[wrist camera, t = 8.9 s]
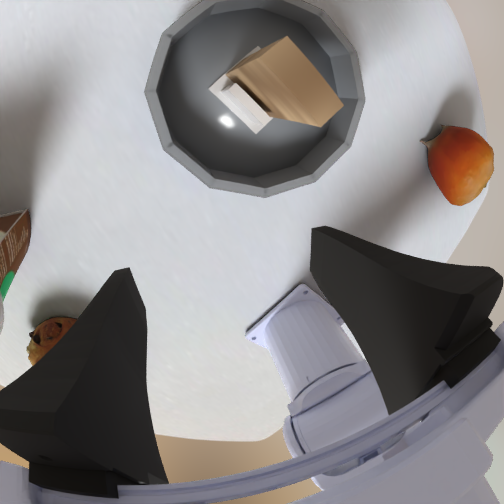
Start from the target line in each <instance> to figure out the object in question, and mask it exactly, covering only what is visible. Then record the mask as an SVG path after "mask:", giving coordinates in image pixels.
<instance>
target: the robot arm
mask: <svg viewBox="0 0 504 504" xmlns="http://www.w3.org/2000/svg"><path fill="white" fill-rule="evenodd" d="M310 271H311V273H312V275H313V277H314V279H315V281H316V283H317V284H318V286H319V288H320V290H321V291H322V292H323V294H324V295H325V296H326V298H327V299H328V301H329V302H330V303H331V305H332V306H333V307H334V308H333V307H332V306H331V305H330V304H329V303H327V302H326V301H325V300H324V299H322V298H321V297H320V296H319V295H318V294H316V293H315V292H314V291H313V290H311V289H310V288H309V287H308V286H307V285H305V284H300V285H299V286H298V287H297V288H295V289H294V290H293V291H292V292H291V293H290V294H289V295H288V296H287V297H286V298H285V299H284V300H282V301H281V302H280V303H279V304H278V305H277V306H276V307H275V308H274V309H273V310H271V311H270V312H269V313H268V314H267V315H266V316H265V317H264V318H262V319H261V320H260V321H259V322H258V323H257V324H256V325H255V326H253V327H252V328H251V329H250V330H249V331H248V332H246V334H245V337H246V339H247V340H250V341H252V342H254V343H256V344H258V345H260V346H262V347H265V348H267V349H269V352H270V354H271V356H272V359H273V361H274V363H275V366H276V368H277V370H278V372H279V375H280V377H281V379H282V382H283V384H284V386H285V388H286V391H287V393H288V395H289V397H290V400H291V403H290V404H288V405H287V407H288V409H289V411H290V414H291V415H289V416H287V417H286V418H285V421H284V425H283V436H284V440H285V443H286V445H287V447H288V449H289V452H290V454H291V455H292V457H293V458H292V459H289V460H286V461H283V462H280V463H277V464H273V465H270V466H266V467H263V468H259V469H255V470H251V471H247V472H242V473H238V474H234V475H229V476H224V477H218V478H212V479H206V480H199V481H192V482H184V483H173V484H169V482H168V479H167V476H166V473H165V471H164V467H163V464H162V461H161V457H160V454H159V450H158V446H157V442H156V438H155V434H154V430H153V425H152V419H151V414H150V408H149V401H148V394H147V382H146V360H147V320H146V308H145V306H144V303H143V301H142V298H141V296H140V294H139V291H138V289H137V286H136V283H135V281H134V278H133V276H132V273H131V270H130V268H124V269H120V270H115V271H114V272H113V273H112V274H111V276H110V277H109V278H108V280H107V281H106V282H105V283H104V285H103V286H102V288H101V289H100V290H99V292H98V293H97V294H96V296H95V297H94V298H93V300H92V301H91V303H90V304H89V305H88V306H87V308H86V309H85V310H84V311H83V313H82V314H81V315H80V317H79V318H78V319H77V321H76V322H75V323H74V324H73V325H72V327H71V328H70V329H69V330H68V331H67V332H66V334H65V335H64V336H63V337H62V338H61V339H60V340H59V341H58V342H57V343H56V344H55V345H54V346H53V347H52V348H51V349H50V350H49V351H48V352H47V353H46V354H45V355H44V356H43V357H42V358H41V359H40V360H39V361H38V362H37V363H36V364H35V365H33V366H32V367H31V368H30V369H29V370H28V371H26V372H25V373H24V374H23V375H21V376H20V377H19V378H18V379H16V380H15V381H13V382H12V383H11V384H9V385H8V386H6V387H5V388H3V389H2V390H1V391H0V443H1V444H2V445H4V446H5V447H7V448H8V449H10V450H11V451H13V452H14V453H16V454H17V455H19V456H20V457H22V458H24V459H25V460H27V461H29V469H27V468H25V467H22V466H19V465H16V464H11V463H8V462H5V461H0V504H208V503H215V502H221V501H227V500H233V499H238V498H242V497H247V496H252V495H256V494H260V493H264V492H267V491H271V490H275V489H278V488H282V487H285V486H288V485H291V484H294V483H297V482H300V481H303V480H306V479H308V478H311V479H312V480H313V482H314V483H315V485H317V486H319V487H320V489H321V490H323V491H321V492H319V493H316V494H314V495H311V496H308V497H305V498H303V499H299V500H297V501H294V502H291V503H288V504H500V503H499V501H498V499H497V498H496V496H495V494H494V492H493V490H492V489H491V487H490V485H489V484H488V482H487V480H486V479H485V477H484V474H485V473H486V472H487V470H488V469H489V468H490V467H491V463H492V461H493V454H492V453H491V451H490V450H489V448H488V447H487V445H486V444H485V442H486V441H487V439H488V438H489V437H490V435H491V434H492V433H493V432H494V430H495V429H496V427H497V426H498V424H499V423H500V422H501V421H502V419H503V418H504V322H503V323H502V324H500V325H499V327H498V328H497V329H496V330H495V332H493V331H492V330H491V329H490V327H491V326H492V321H491V320H490V319H489V318H488V316H489V315H490V313H491V311H492V309H493V307H494V305H495V303H496V301H497V299H498V297H499V295H500V293H501V290H502V287H503V277H502V276H501V275H500V274H499V273H498V272H496V271H495V270H494V269H492V268H490V267H484V266H463V265H455V264H447V263H441V262H435V261H430V260H425V259H421V258H417V257H413V256H410V255H406V254H402V253H399V252H396V251H393V250H390V249H387V248H384V247H381V246H379V245H376V244H373V243H371V242H368V241H366V240H363V239H361V238H358V237H355V236H353V235H350V234H348V233H345V232H343V231H340V230H337V229H334V228H331V227H328V226H322V227H317V228H312V233H311V260H310ZM304 291H305V292H304ZM344 322H345V324H346V325H347V326H348V328H349V329H350V331H351V332H352V334H353V336H354V337H355V339H356V341H357V343H358V345H359V346H360V348H361V350H362V352H363V354H364V356H365V358H366V360H367V362H368V363H367V362H366V360H365V359H363V357H362V356H361V354H360V353H359V351H358V350H357V349H356V347H355V346H354V344H353V343H352V341H351V340H350V339H349V337H348V336H347V334H346V333H345V331H344V330H343V329H342V327H341V325H342V324H343V323H344ZM368 364H369V365H368ZM421 420H422V421H421ZM420 421H421V422H420Z"/></svg>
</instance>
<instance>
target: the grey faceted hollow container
mask: <svg viewBox="0 0 504 504" xmlns="http://www.w3.org/2000/svg"><path fill="white" fill-rule="evenodd" d="M286 36H288V37H289V38H290V40H291V41H292V42H293V43H294V44H295V45H296V46H297V47H298V48H299V49H300V51H301V52H302V53H303V54H304V55H305V56H306V57H307V59H308V60H309V61H310V62H311V63H312V64H313V66H314V67H315V68H316V69H317V71H318V72H319V73H320V74H321V75H322V77H323V78H324V79H325V81H326V82H327V83H328V84H329V86H330V87H331V88H332V90H333V91H334V92H335V94H336V95H337V96H338V98H339V99H340V100H341V102H342V103H343V105H344V106H343V107H342V108H341V109H340V110H339V111H338V112H336V113H335V114H334V115H333V116H332V117H331V118H330V119H329V120H328V121H327V122H326V123H325V124H324V125H323V126H322V127H318V126H313V125H309V124H304V123H300V122H295V121H290V120H284V119H279V118H273V117H269V116H268V115H267V114H266V112H265V111H264V110H263V109H262V108H261V107H260V106H259V105H258V104H257V103H256V102H255V101H254V100H253V99H252V98H251V97H250V96H249V95H248V94H247V93H246V92H245V91H244V90H243V89H242V88H241V87H240V86H239V85H238V84H237V83H234V82H233V81H232V80H231V79H229V78H228V77H227V76H226V75H225V74H227V73H228V72H229V71H230V70H231V69H232V68H233V67H235V66H236V65H237V64H238V63H239V62H240V61H242V60H243V59H244V58H246V57H248V56H249V55H251V54H253V53H255V52H257V51H259V50H260V49H262V48H264V47H266V46H268V45H270V44H272V43H274V42H276V41H278V40H280V39H282V38H284V37H286ZM144 93H145V96H146V99H147V102H148V105H149V109H150V112H151V115H152V118H153V121H154V124H155V127H156V130H157V133H158V136H159V139H160V142H161V145H162V147H163V150H164V151H165V152H166V153H168V154H169V155H170V156H171V157H173V158H174V159H175V160H176V161H177V162H179V163H180V164H181V165H182V166H184V167H185V168H186V169H187V170H188V171H190V172H191V173H192V174H193V175H195V176H196V177H197V178H198V179H199V180H201V181H202V182H203V183H204V184H205V185H207V186H208V187H209V188H212V189H218V190H224V191H230V192H236V193H241V194H247V195H252V196H257V197H263V198H267V197H270V196H273V195H276V194H279V193H282V192H285V191H288V190H292V189H295V188H298V187H301V186H304V185H308V184H311V183H314V182H316V181H317V180H318V179H319V178H320V177H321V176H322V175H323V174H324V173H325V172H326V171H327V170H328V169H329V168H330V167H331V166H332V165H333V164H334V163H335V162H336V161H337V160H338V159H339V158H340V157H341V156H342V155H343V154H344V153H345V152H346V151H347V150H348V149H349V148H350V147H351V145H352V142H353V139H354V136H355V133H356V130H357V126H358V123H359V120H360V117H361V114H362V110H363V107H364V104H365V94H364V88H363V82H362V76H361V71H360V66H359V61H358V56H357V52H356V50H355V49H354V47H353V46H352V45H351V43H350V42H349V41H348V39H347V38H346V37H345V36H344V34H343V33H342V32H341V31H340V29H339V28H338V27H337V26H336V24H335V23H334V22H333V21H332V20H331V18H330V17H329V16H328V15H327V14H326V13H325V12H324V11H323V10H322V9H320V8H317V7H315V6H313V5H311V4H309V3H307V2H304V1H302V0H203V1H202V2H200V3H199V4H197V5H196V6H195V7H193V8H192V9H191V10H189V11H188V12H187V13H186V14H184V15H183V16H182V17H181V18H179V19H178V20H177V21H176V22H174V23H173V24H172V25H171V26H170V27H169V28H167V29H166V30H165V31H164V32H163V33H162V35H161V38H160V41H159V44H158V47H157V50H156V53H155V56H154V59H153V62H152V66H151V69H150V72H149V76H148V80H147V83H146V87H145V91H144Z"/></svg>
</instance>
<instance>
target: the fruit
mask: <svg viewBox="0 0 504 504" xmlns="http://www.w3.org/2000/svg"><path fill="white" fill-rule="evenodd" d="M441 126H442V131H441V133H440V134H439V135H438V136H437V137H436V138H434V139H433V140H430V141H428V142H424V141H422V140H421V141H420V142H422V143H423V144H424V145H426V146H427V148H428V167H429V169H430V172H431V175H432V177H433V178H434V180H435V182H436V184H437V185H438V187H439V189H440V190H441V192H442V194H443V195H444V196H445V198H446V199H447V200H448V201H449V202H450V203H451V204H453V205H458V206H462V205H464V204H466V203H470V202H471V201H472V200H474V199H475V198H476V197H477V196H478V195H479V194H480V193H481V191H482V189H483V188H485V187H486V184H487V182H488V180H489V179H490V178H491V175H492V173H493V171H494V166H493V161H494V160H493V159H494V153H493V149H492V147H491V146H489V144H488V143H487V142H486V141H485V140H484V139H483V138H482V137H481V136H480V135H479V134H478V133H476V132H475V131H473V130H471V129H468V128H462V127H455V126H445V125H441Z"/></svg>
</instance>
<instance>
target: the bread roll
mask: <svg viewBox="0 0 504 504" xmlns="http://www.w3.org/2000/svg"><path fill="white" fill-rule="evenodd" d="M76 321H77V319H74V318H66V317H55V318H51V319H48V320H46V321H44V322H43V323H41V324H39V325H38V326H37V327H36V329H35V330H34V331H33V332H30V333H29V336H30V337H31V341H30V343H29V346H27V350H26V351H27V352H28V353H29V357H28V359H29V360H30V362H31V364H32V365H35V364H36V363H37V362H38V361H39V360H40V359H41V358H42V357H43V356H44V355H45V354H46V353H47V352H48V351H49V350H50V349H51V348H52V347H53V346H54V345H55V344H56V343H57V342H58V341H59V340H60V339H61V338H62V337H63V336H64V335H65V334H66V332H67V331H68V330H69V329H70V328H71V327H72V325H73V324H74V323H75V322H76Z"/></svg>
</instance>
